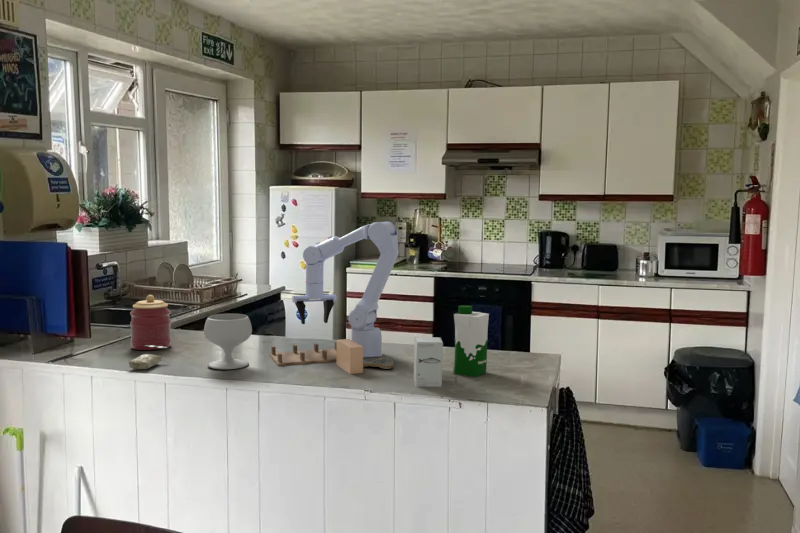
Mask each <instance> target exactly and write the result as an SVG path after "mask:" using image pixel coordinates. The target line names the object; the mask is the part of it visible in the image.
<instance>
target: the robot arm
mask: <svg viewBox="0 0 800 533" xmlns="http://www.w3.org/2000/svg"><path fill="white" fill-rule="evenodd" d="M396 227H397V226H396V225H395V224H394V223H393V222H392V221H375V222H372V223H370V224H366V225H362V226H361V227H359V228H357V229H355V230H353V231H351V232H349V233H347V234H345V235H343V236H342V237H339V236H336V235H334V236H333V235H330V236H327V239H326V240H323V241H322V242H320V241H318V242H316V243H315V245H314V246H313V245H308V246H307V247H305V249H304V250H303V253H302V258H303V260H304V262H305V294H302V295H292V298H291V301H292V303H294V304H295V306H296V309H297V311H298V314H299V318H300V324H302V325H305V324H306V316H305V314H306V304H305V303H307V302H308V303H309V302H323V322H324V323H325V324H328V322H329V318H330V315H331V311H332V309H333V308H334V305H335V302H337V295H336V294H324V263H325V261H326V260H328V259H329V258H332V257H334V256H337V255H339V254H341V253H343V252H344V250H345V247H347V246H350V245H352V244H355V243H357V242H360V241H361V240H371V242H372V243H373V244H374V245H375V247H377V249H378V251H379V254H380V255H379V257H378V260H377V262H376V264H375V266H374V269H373V272H372V274H371V277H369V278H370V279H369V281H368V284H367V285H366V287H365V290H364V292H363V295H362V296H361V299H359V301H358V302H357V303H356V305H355V307H354V308H353V310H351V311H350V313H349V314H348V318H347V319H348V323H349V325H350V327H351V339H350V340H352V341H354V342H356V343H357V344H359V345H361V346H363V358H376V357H378V358H379V357H383V354H382V336H383V335H382V331H381V328H380V327H375V326H374V323H375V322H376V321H377V317H378V315H377V314H378V309H379V303H378V302H379V300H380V299H381V296H382V293H383V292H384V289H385V286H386V284H387V282H388V280H389V277H390V275H391V273H392V271H393V269H394V266H395V263H396V261H397V259H398V256H399V253H400V252H399V251H400V250H399V241H398V238H399V232H398V230H397V228H396Z"/></svg>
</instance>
